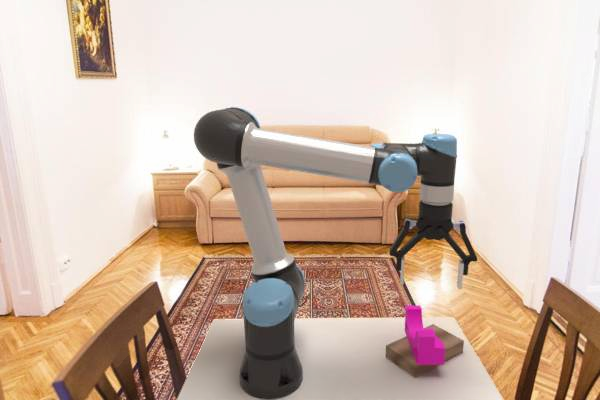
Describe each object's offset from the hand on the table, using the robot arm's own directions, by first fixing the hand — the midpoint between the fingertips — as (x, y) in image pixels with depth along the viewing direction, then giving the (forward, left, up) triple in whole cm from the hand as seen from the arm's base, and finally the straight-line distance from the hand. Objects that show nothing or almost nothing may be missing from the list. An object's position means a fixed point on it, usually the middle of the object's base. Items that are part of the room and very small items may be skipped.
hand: (430, 284), depth 108 cm
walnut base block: (0, +1, -21) cm, 21 cm away
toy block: (-1, -1, -17) cm, 17 cm away
